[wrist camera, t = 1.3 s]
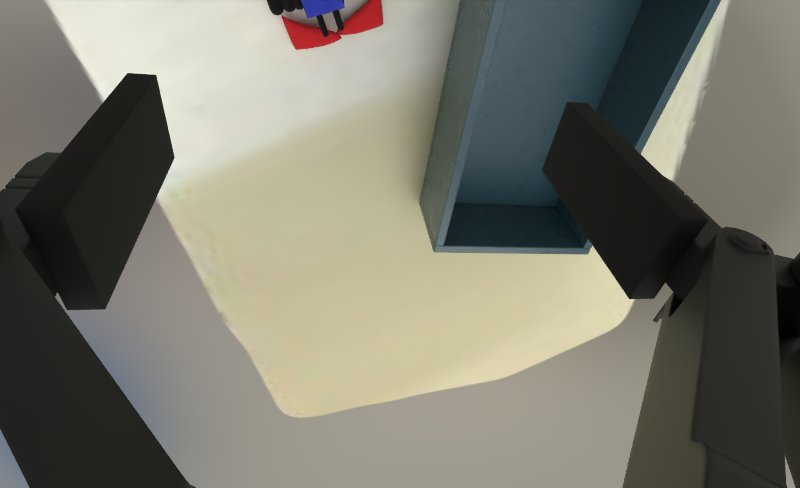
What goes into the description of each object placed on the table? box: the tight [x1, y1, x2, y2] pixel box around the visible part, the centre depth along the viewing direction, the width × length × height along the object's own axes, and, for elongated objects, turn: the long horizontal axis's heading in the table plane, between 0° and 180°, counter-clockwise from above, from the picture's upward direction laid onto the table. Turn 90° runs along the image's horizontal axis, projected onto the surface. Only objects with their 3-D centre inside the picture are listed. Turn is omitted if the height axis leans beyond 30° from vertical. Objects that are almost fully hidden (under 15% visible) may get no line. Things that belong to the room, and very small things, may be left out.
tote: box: [420, 0, 721, 254], centre depth 33 cm, size 20×13×7 cm, turn 172°
